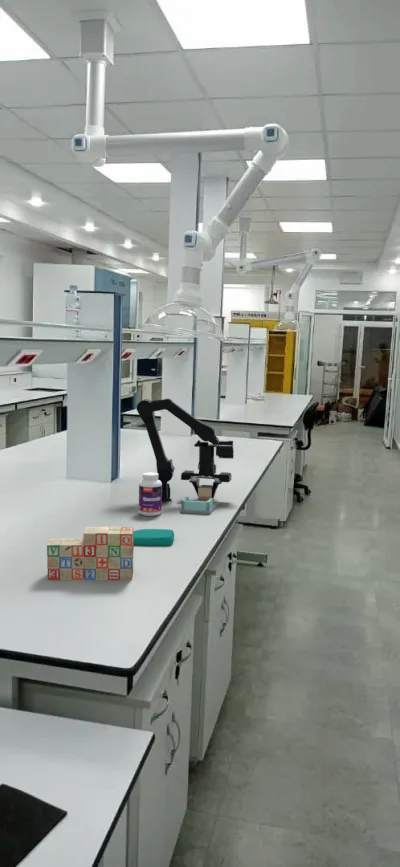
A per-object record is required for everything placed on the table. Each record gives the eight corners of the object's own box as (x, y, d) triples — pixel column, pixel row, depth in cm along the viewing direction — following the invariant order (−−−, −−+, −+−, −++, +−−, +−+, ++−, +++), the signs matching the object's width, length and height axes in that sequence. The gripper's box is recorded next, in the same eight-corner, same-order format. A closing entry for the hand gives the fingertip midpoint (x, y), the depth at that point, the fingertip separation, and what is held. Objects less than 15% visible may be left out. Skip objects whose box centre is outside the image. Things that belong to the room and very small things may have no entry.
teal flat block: (171, 548, 191) (89, 547, 193) (175, 537, 202) (97, 536, 204) (171, 538, 191) (89, 537, 193) (175, 528, 202) (97, 527, 203)
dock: (210, 514, 229) (210, 502, 229) (179, 512, 231) (180, 500, 231) (217, 504, 244) (218, 493, 243) (189, 502, 246) (189, 491, 245)
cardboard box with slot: (210, 503, 246) (211, 488, 245) (197, 502, 247) (198, 487, 246) (213, 499, 252) (214, 485, 251) (201, 498, 253) (201, 484, 252)
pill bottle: (141, 517, 224) (141, 476, 222) (137, 511, 232) (136, 472, 230) (164, 516, 226) (164, 475, 224) (159, 510, 234) (159, 471, 232)
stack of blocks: (46, 580, 163) (45, 533, 161) (51, 572, 169) (50, 526, 167) (132, 580, 164) (132, 533, 162) (134, 572, 170) (133, 526, 168)
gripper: (234, 455, 253) (233, 495, 255) (187, 453, 257) (187, 492, 259) (229, 460, 242) (228, 501, 244) (180, 458, 246) (180, 498, 248)
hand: (206, 498), depth 249 cm, fingers closed on cardboard box with slot, 5 cm apart
